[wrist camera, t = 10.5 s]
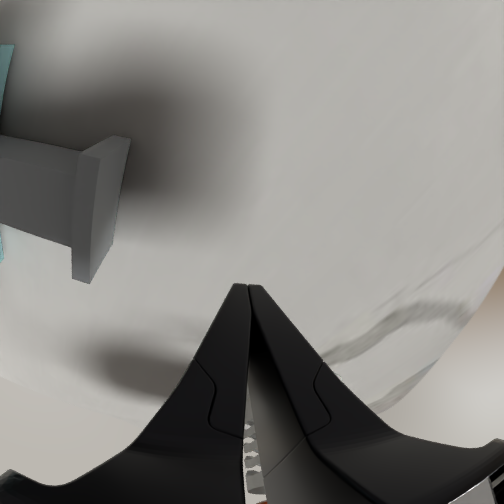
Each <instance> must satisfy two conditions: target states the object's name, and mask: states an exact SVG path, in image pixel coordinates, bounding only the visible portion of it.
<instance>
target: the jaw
mask: <svg viewBox="0 0 504 504" xmlns="http://www.w3.org/2000/svg"><path fill="white" fill-rule="evenodd" d="M14 46H15V45H0V113H1V106H2V99H3V93H4V88H5V83H6V78H7V73H8V69H9V65H10V61H11V57H12V53H13V49H14ZM130 143H131V139H129V138H125V137H121V136H117V135H112V136H110V137H108V138H106V139H105V140H103V141H101V142H99V143H97V144H95V145H93V146H91V147H90V148H88V149H86V150H84V151H83V152H82V151H77V150H73V149H68V148H64V147H59V146H55V145H50V144H45V143H40V142H35V141H30V140H25V139H19V138H14V137H8V136H3V135H0V223H2V224H5V225H8V226H10V227H13V228H16V229H19V230H21V231H24V232H27V233H30V234H33V235H36V236H39V237H41V238H44V239H47V240H50V241H53V242H56V243H59V244H62V245H65V246H68V247H71V248H72V279H75V280H78V281H81V282H84V283H87V284H90V283H91V281H92V279H93V277H94V275H95V273H96V272H97V270H98V268H99V266H100V264H101V263H102V261H103V259H104V258H105V256H106V254H107V252H108V251H109V249H110V247H111V246H112V244H113V237H114V229H115V222H116V215H117V208H118V202H119V196H120V190H121V185H122V180H123V174H124V170H125V165H126V160H127V156H128V151H129V147H130ZM3 259H4V256H3V250H2V243H1V235H0V262H1V261H2V260H3Z"/></svg>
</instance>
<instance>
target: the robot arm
mask: <svg viewBox="0 0 504 504" xmlns="http://www.w3.org/2000/svg"><path fill="white" fill-rule="evenodd" d="M247 382H248V389H249V395H250V402H251V408H252V415H253V421H254V427H255V434H256V440H257V446H258V452H259V458H260V464H261V469H262V475H263V481H264V487H265V493H266V498H267V504H504V440H501V439H494V440H492V441H491V442H489V443H488V444H486V445H485V446H483V447H479V448H462V447H456V446H451V445H446V444H441V443H436V442H432V441H427V440H423V439H419V438H415V437H410V436H407V435H404V434H402V433H399V432H398V431H396V430H394V429H393V428H391V427H390V426H388V425H387V424H386V423H385V422H384V421H383V420H382V419H380V418H379V417H378V416H377V415H376V414H375V413H374V412H373V411H372V410H371V409H370V408H368V407H367V406H366V405H365V404H364V403H363V402H362V401H361V400H360V399H359V398H358V397H357V396H356V395H355V394H354V393H353V392H352V391H351V390H350V389H349V388H348V387H347V386H346V385H345V384H344V383H343V382H342V381H341V380H340V379H339V378H338V377H337V376H336V374H335V373H334V372H333V371H332V370H331V369H330V368H329V366H328V365H327V364H326V363H325V362H323V359H322V358H321V357H320V356H319V355H318V353H317V352H316V351H315V350H314V349H313V347H312V346H311V345H310V344H309V343H308V341H307V340H306V339H305V338H304V336H303V335H302V334H301V333H300V332H299V330H298V329H297V328H296V327H295V326H294V324H293V323H292V322H291V321H290V320H289V318H288V317H287V316H286V315H285V313H284V312H283V311H282V310H281V309H280V307H279V306H278V305H277V304H276V302H275V301H274V300H273V299H272V298H271V296H270V295H269V294H268V293H267V291H266V290H265V289H264V288H263V287H262V286H261V285H254V284H249V285H248V286H247V285H246V284H240V283H234V284H233V285H232V287H231V289H230V291H229V293H228V294H227V296H226V298H225V300H224V302H223V304H222V306H221V307H220V309H219V311H218V313H217V315H216V317H215V318H214V320H213V322H212V324H211V326H210V328H209V330H208V331H207V333H206V335H205V337H204V339H203V341H202V343H201V344H200V346H199V348H198V350H197V352H196V354H195V356H194V357H193V360H192V361H191V363H190V364H189V366H188V368H187V370H186V372H185V373H184V375H183V377H182V378H181V380H180V382H179V383H178V385H177V386H176V388H175V389H174V391H173V392H172V393H171V395H170V396H169V398H168V399H167V400H166V402H165V403H164V404H163V405H162V407H161V408H160V409H159V411H158V412H157V413H156V414H155V416H154V417H153V418H152V420H151V421H150V422H149V423H148V425H147V426H146V427H145V429H144V430H143V431H142V432H141V433H140V435H139V436H138V437H137V438H136V439H135V440H134V441H133V442H132V443H131V444H130V445H129V446H128V447H127V448H125V449H124V450H123V451H122V452H120V453H118V454H117V455H115V456H114V457H112V458H110V459H109V460H107V461H106V462H104V463H103V464H101V465H99V466H97V467H96V468H94V469H92V470H91V471H89V472H87V473H85V474H84V475H82V476H80V477H78V478H77V479H75V480H73V481H71V482H69V483H66V484H63V485H57V486H52V485H45V484H41V483H39V482H37V481H34V480H32V479H30V478H28V477H26V476H24V475H22V474H20V473H18V472H16V471H14V470H11V469H9V470H8V471H6V472H5V473H4V474H2V475H1V476H0V504H245V490H244V477H243V439H244V426H245V411H246V396H247Z"/></svg>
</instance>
